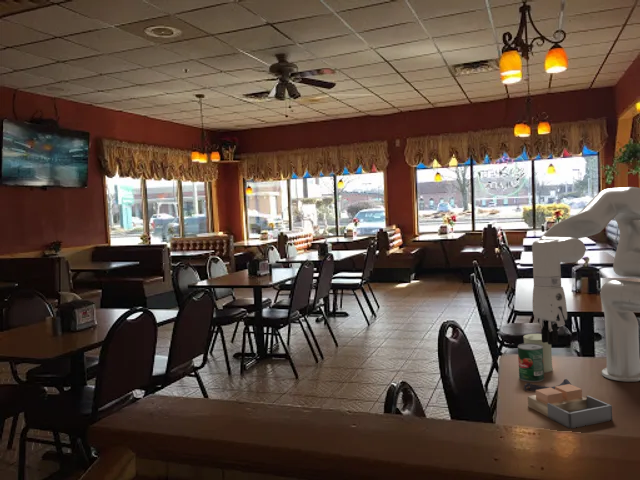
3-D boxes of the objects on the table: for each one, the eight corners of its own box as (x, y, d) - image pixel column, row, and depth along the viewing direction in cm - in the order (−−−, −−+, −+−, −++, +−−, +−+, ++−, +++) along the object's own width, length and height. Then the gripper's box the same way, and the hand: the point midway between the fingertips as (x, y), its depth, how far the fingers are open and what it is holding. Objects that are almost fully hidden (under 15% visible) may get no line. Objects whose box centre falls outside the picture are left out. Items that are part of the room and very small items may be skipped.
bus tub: (588, 409, 154) (588, 395, 154) (612, 420, 146) (611, 405, 146) (548, 417, 151) (547, 403, 150) (569, 428, 142) (569, 413, 142)
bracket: (520, 384, 180) (520, 376, 180) (568, 383, 178) (568, 375, 177) (529, 400, 166) (528, 391, 166) (581, 400, 163) (581, 391, 163)
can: (519, 367, 196) (517, 334, 195) (540, 363, 199) (539, 331, 198) (536, 374, 187) (534, 339, 186) (558, 370, 190) (557, 336, 189)
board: (565, 399, 163) (565, 389, 163) (588, 409, 154) (587, 399, 154) (528, 406, 159) (527, 396, 159) (548, 417, 151) (548, 406, 151)
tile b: (550, 395, 158) (550, 387, 158) (562, 401, 154) (562, 392, 153) (536, 398, 157) (535, 390, 157) (547, 404, 152) (547, 395, 152)
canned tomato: (514, 379, 184) (513, 347, 183) (525, 373, 189) (523, 342, 188) (538, 383, 178) (536, 350, 177) (548, 377, 183) (546, 345, 183)
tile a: (569, 392, 160) (569, 383, 160) (582, 397, 155) (581, 389, 155) (555, 395, 159) (554, 386, 159) (567, 400, 154) (567, 391, 154)
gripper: (577, 283, 155) (579, 347, 156) (540, 277, 171) (543, 335, 172) (554, 286, 153) (557, 350, 154) (519, 280, 169) (522, 339, 170)
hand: (550, 342), depth 163 cm, fingers closed
